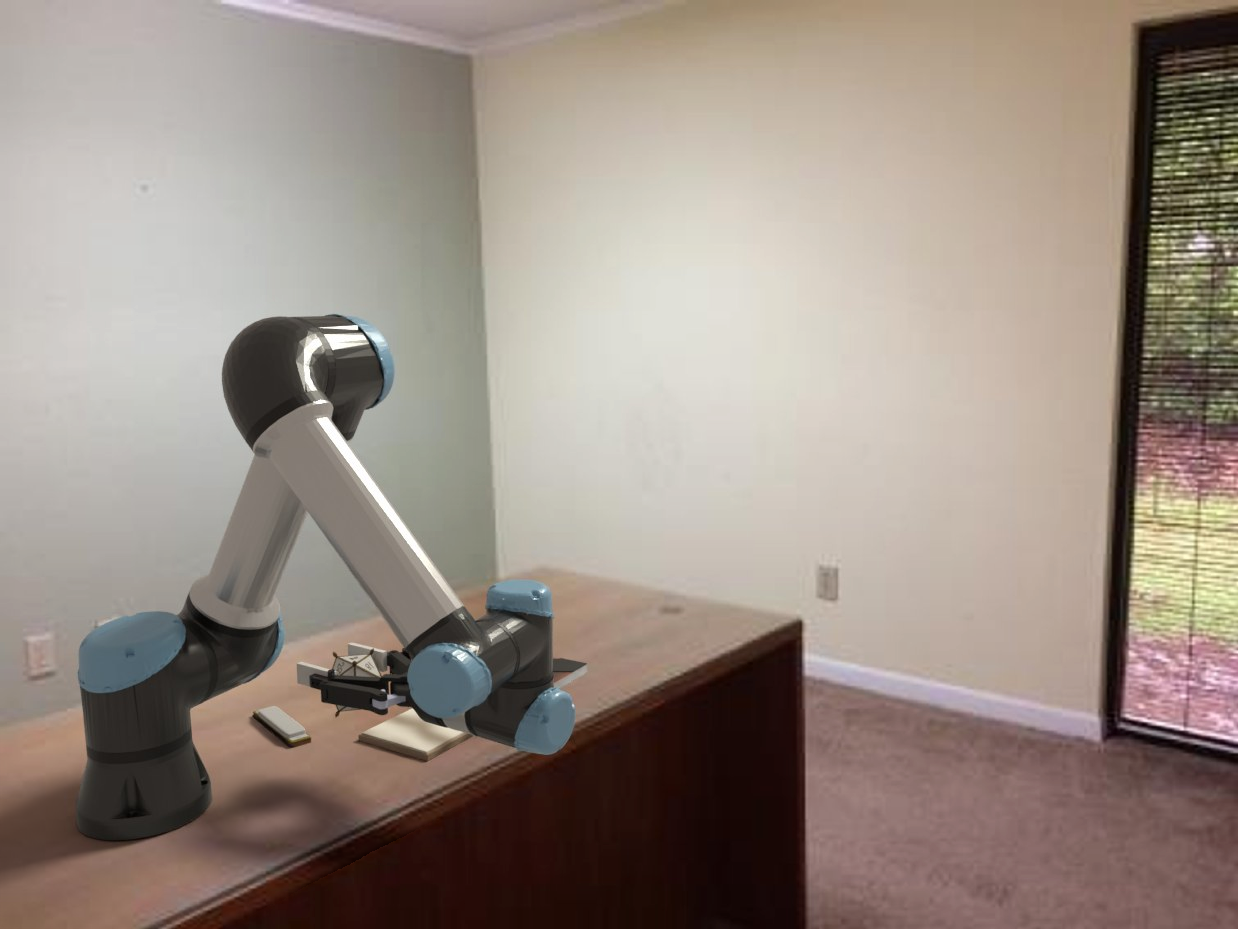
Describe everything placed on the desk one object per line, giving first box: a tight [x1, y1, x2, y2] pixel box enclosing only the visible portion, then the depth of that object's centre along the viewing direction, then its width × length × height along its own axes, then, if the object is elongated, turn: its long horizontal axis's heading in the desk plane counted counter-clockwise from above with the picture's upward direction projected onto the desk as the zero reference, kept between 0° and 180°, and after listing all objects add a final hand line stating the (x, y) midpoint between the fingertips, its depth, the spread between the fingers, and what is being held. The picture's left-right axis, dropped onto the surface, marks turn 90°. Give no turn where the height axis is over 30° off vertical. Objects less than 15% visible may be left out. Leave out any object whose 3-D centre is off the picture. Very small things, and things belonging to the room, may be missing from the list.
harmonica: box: [251, 705, 312, 749], centre depth 150 cm, size 15×3×2 cm, turn 40°
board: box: [358, 707, 473, 762], centre depth 152 cm, size 22×13×1 cm, turn 148°
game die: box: [331, 647, 383, 718], centre depth 136 cm, size 9×8×10 cm
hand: (325, 662), depth 137 cm, fingers closed on game die, 8 cm apart
